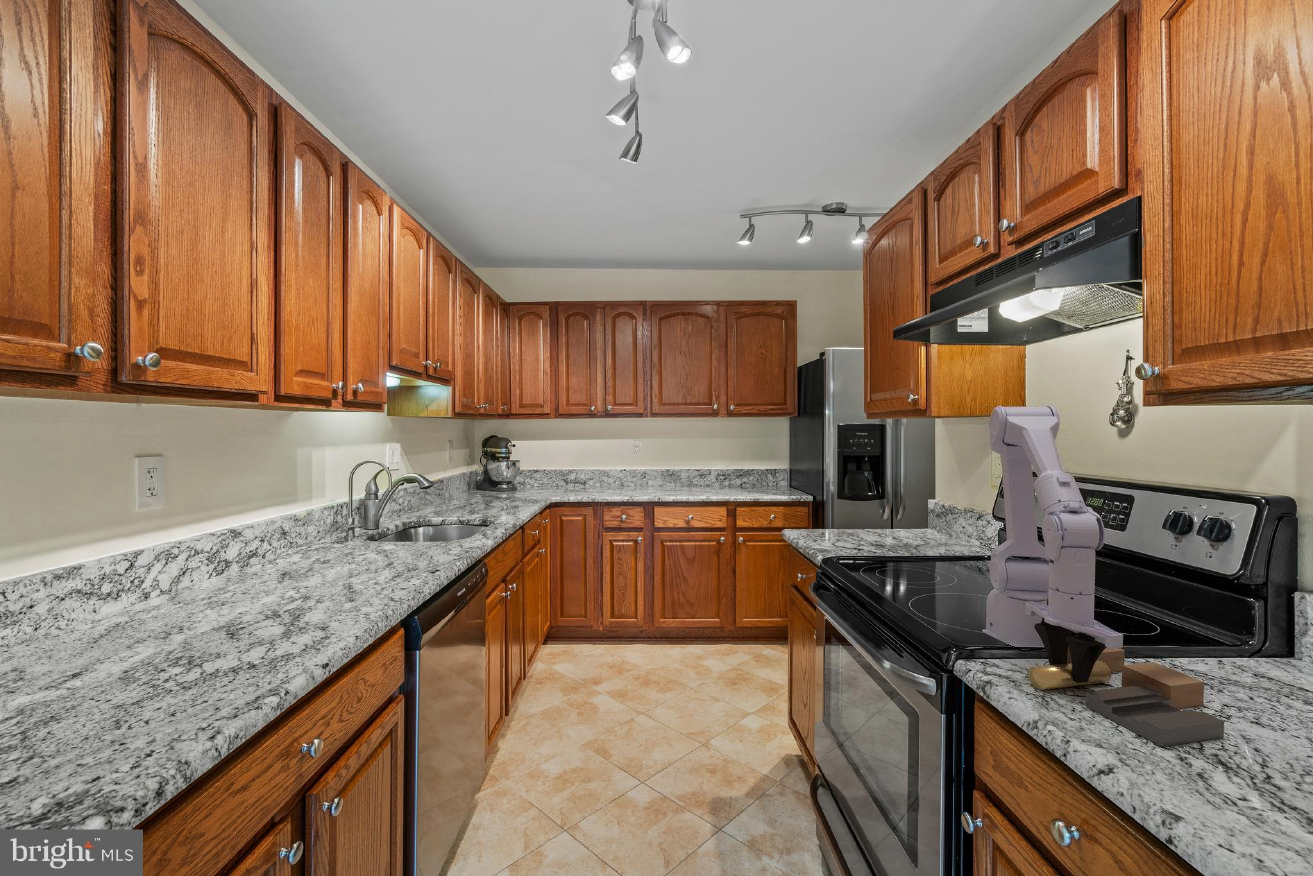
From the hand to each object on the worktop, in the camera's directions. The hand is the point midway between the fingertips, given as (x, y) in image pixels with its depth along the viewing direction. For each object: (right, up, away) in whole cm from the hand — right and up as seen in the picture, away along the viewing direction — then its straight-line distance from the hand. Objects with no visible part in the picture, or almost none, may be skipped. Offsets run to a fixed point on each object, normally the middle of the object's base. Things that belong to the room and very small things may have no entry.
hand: (1069, 675), depth 86 cm
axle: (0, -2, 0) cm, 2 cm away
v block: (+3, -2, -10) cm, 11 cm away
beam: (+10, -1, +2) cm, 10 cm away
